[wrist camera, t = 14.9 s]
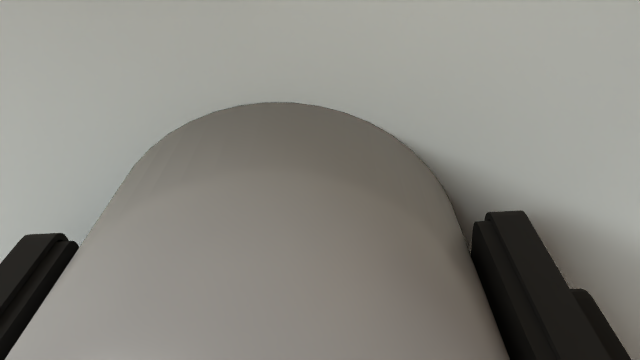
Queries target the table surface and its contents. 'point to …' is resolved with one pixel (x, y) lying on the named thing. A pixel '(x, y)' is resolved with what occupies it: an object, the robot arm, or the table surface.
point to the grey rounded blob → (271, 252)
